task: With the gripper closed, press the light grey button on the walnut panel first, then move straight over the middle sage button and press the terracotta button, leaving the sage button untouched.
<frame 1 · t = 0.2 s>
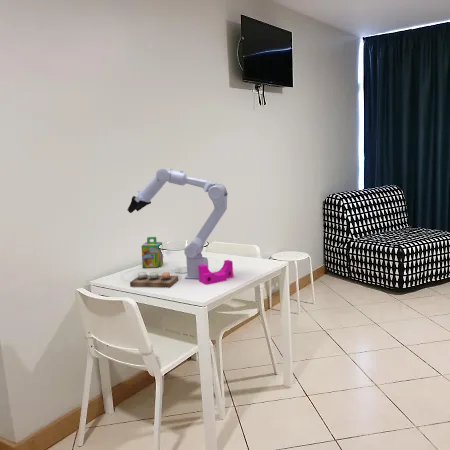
hand: (132, 210, 203), 31 cm above the table, tool tilted 45°, fingers open, 7 cm apart
terracotta button: (165, 275, 192), point 4 cm above the table, slide at 0.0 cm
button panel: (154, 283, 194), on the table
toy block: (217, 280, 194), on the table
grey button: (142, 274, 194), point 4 cm above the table, slide at 0.0 cm
chalk box: (153, 266, 225), on the table
sage button: (154, 274, 193), point 4 cm above the table, slide at 0.0 cm
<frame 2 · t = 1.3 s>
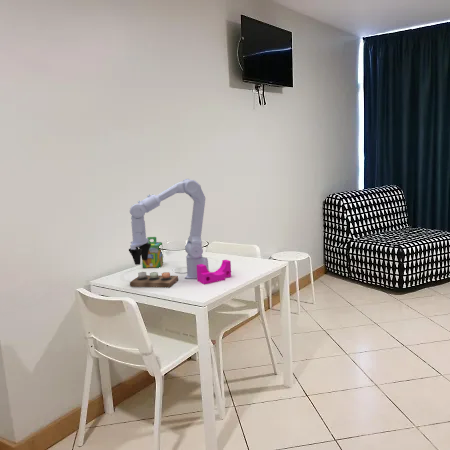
hand: (141, 262, 193), 9 cm above the table, tool pointing down, fingers open, 7 cm apart
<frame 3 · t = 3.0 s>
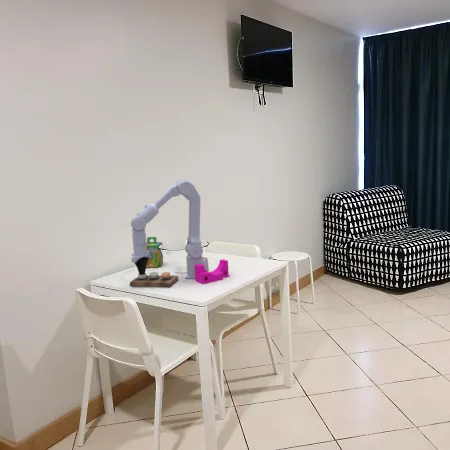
hand: (142, 274, 194), 4 cm above the table, tool pointing down, fingers closed, pressing on grey button
toy block: (213, 280, 196), on the table
grey button: (142, 276, 194), point 3 cm above the table, slide at 0.6 cm, touching gripper
everything else where it was.
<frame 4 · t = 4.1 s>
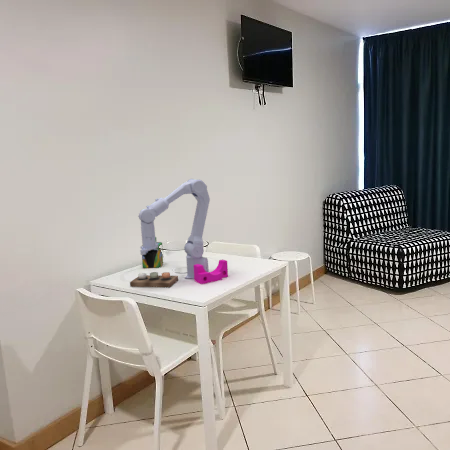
hand: (151, 267, 193), 7 cm above the table, tool pointing down, fingers closed
grey button: (142, 276, 194), point 3 cm above the table, slide at 0.6 cm
everything else where it was.
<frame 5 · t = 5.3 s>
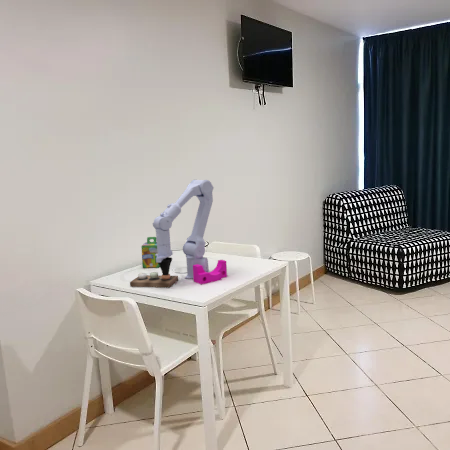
hand: (165, 274, 192), 4 cm above the table, tool pointing down, fingers closed, pressing on terracotta button
terracotta button: (165, 276, 192), point 3 cm above the table, slide at 0.6 cm, touching gripper
everything else where it was.
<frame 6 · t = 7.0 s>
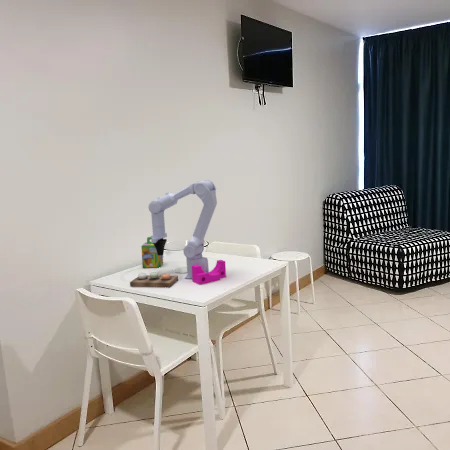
hand: (160, 255, 206), 9 cm above the table, tool pointing down, fingers closed
terracotta button: (165, 276, 192), point 3 cm above the table, slide at 0.6 cm
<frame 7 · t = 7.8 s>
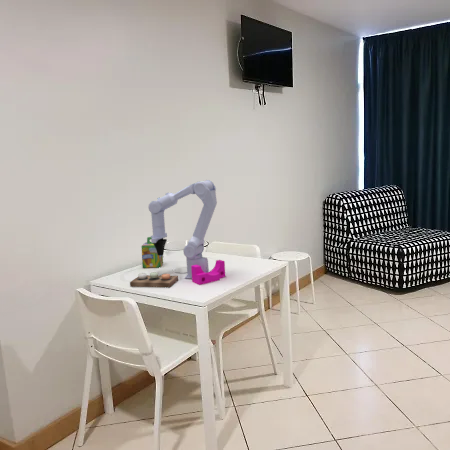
hand: (160, 255, 206), 9 cm above the table, tool pointing down, fingers closed
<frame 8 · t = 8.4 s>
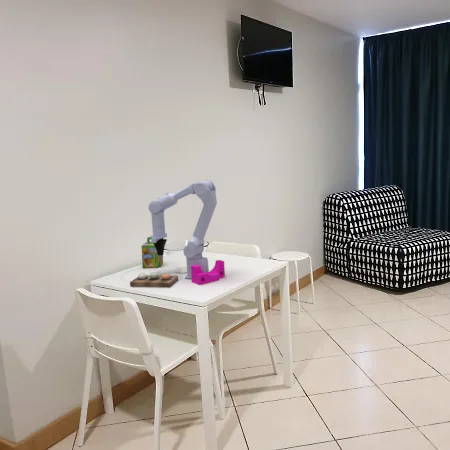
hand: (160, 255, 206), 9 cm above the table, tool pointing down, fingers closed
at the end: grey button slide at 0.6 cm; terracotta button slide at 0.6 cm; sage button slide at 0.0 cm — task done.
